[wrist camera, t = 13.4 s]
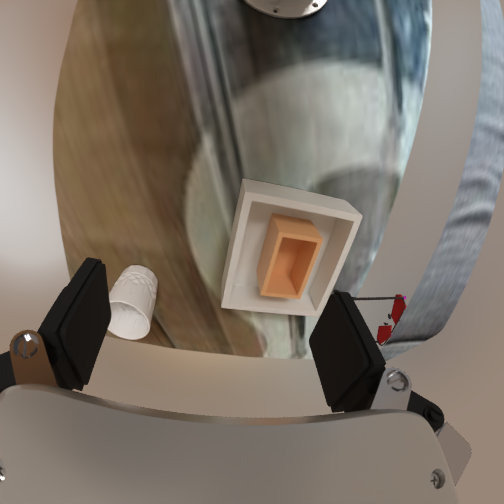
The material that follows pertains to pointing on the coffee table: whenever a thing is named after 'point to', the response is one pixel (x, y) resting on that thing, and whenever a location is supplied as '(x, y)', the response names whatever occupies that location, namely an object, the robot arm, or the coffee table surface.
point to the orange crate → (287, 256)
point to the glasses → (396, 314)
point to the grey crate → (253, 236)
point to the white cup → (133, 302)
